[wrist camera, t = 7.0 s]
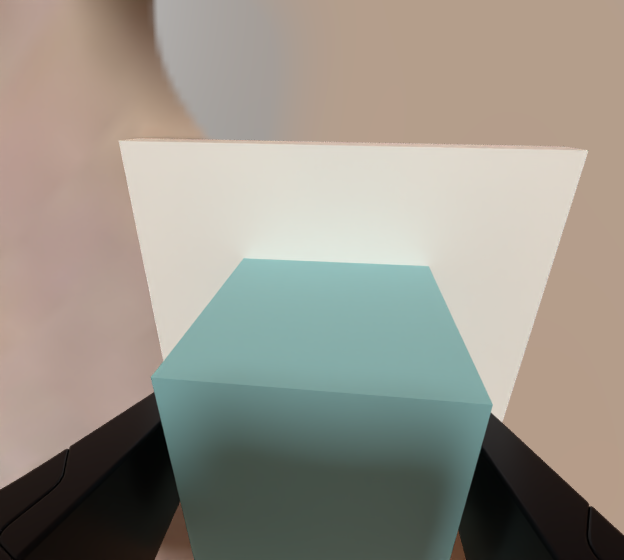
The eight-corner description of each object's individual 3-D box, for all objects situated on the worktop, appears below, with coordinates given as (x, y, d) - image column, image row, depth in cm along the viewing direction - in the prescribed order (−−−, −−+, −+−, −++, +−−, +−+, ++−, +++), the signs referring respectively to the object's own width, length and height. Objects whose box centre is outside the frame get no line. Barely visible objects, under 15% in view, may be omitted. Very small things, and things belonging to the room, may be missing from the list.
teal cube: (407, 409, 12) (439, 597, 7) (255, 396, 12) (195, 564, 8) (428, 265, 10) (493, 405, 5) (243, 258, 10) (151, 377, 6)
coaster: (474, 458, 14) (482, 482, 13) (192, 430, 15) (181, 450, 14) (564, 146, 9) (588, 150, 8) (140, 138, 10) (118, 140, 9)
